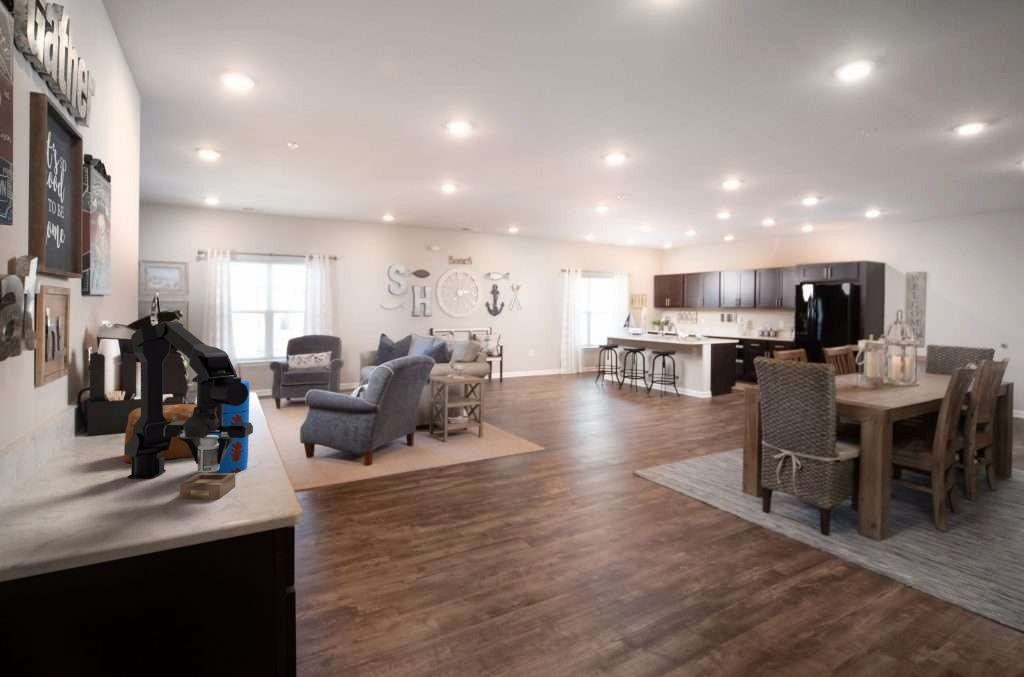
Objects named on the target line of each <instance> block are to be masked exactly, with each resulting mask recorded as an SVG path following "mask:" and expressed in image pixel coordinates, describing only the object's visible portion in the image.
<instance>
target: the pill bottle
mask: <svg viewBox="0 0 1024 677" xmlns="http://www.w3.org/2000/svg"><path fill="white" fill-rule="evenodd" d="M218 438H219V437H218V436H217V435H207V436H206V437H204V438H200V445H199V446H198V464H197V472H198V473H208V472H214V471H217V470H219V466H220V464H218V448H219V443H217V442H218V440H217V439H218Z"/></svg>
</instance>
